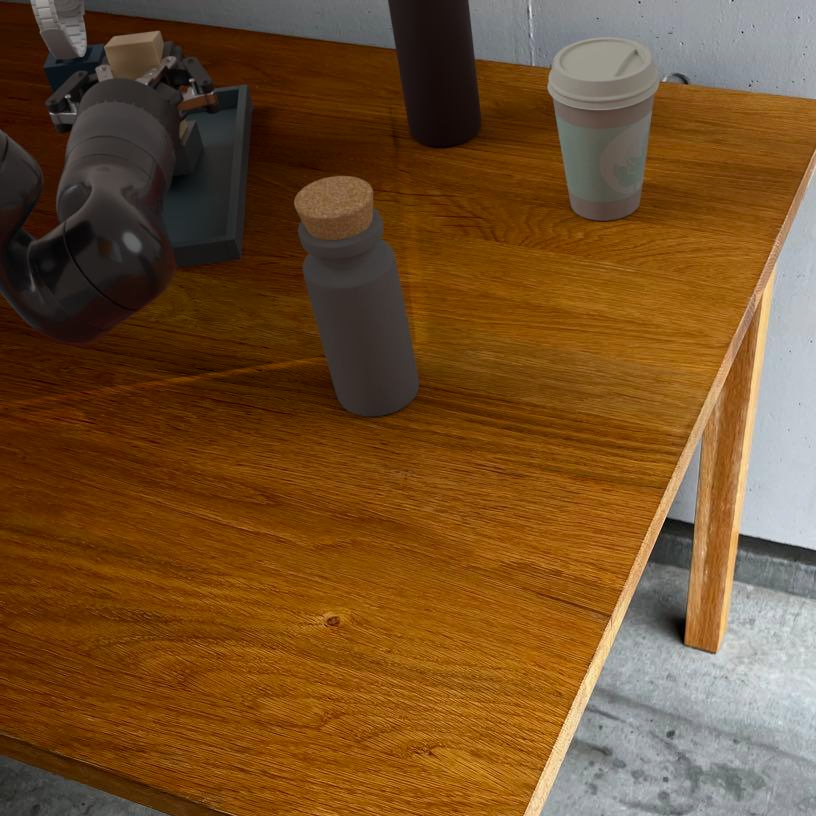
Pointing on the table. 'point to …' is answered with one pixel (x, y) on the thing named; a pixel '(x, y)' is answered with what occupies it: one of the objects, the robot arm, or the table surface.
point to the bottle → (356, 297)
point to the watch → (66, 40)
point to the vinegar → (437, 69)
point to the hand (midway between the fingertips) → (146, 56)
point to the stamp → (133, 61)
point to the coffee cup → (604, 122)
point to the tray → (213, 185)
